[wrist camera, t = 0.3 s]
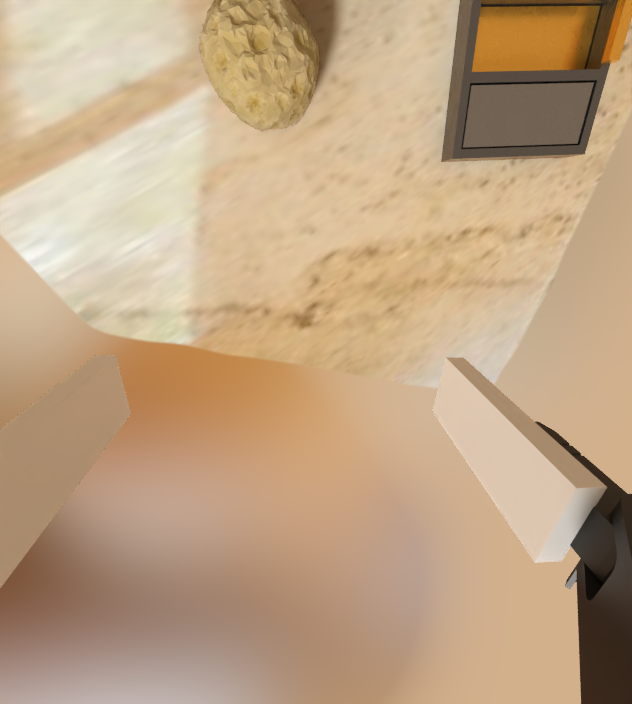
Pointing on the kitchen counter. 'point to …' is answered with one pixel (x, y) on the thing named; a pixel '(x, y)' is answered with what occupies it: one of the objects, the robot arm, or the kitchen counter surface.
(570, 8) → the rack
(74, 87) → the kitchen counter surface
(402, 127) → the kitchen counter surface
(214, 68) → the decorative item
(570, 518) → the robot arm
